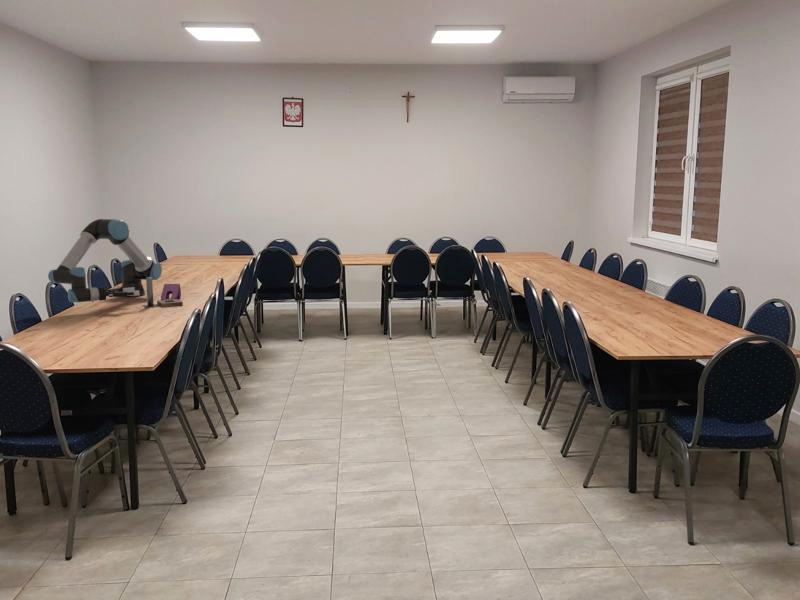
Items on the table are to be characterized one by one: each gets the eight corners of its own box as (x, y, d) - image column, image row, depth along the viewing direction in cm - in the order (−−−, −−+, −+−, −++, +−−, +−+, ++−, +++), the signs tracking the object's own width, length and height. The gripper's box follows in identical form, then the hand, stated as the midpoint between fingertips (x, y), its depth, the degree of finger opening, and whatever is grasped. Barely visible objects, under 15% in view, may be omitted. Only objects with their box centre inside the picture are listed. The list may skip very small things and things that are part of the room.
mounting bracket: (177, 311, 447) (181, 294, 461) (175, 300, 442) (179, 283, 457) (161, 311, 446) (166, 294, 460) (159, 300, 441) (164, 283, 455)
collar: (157, 304, 435) (157, 300, 435) (177, 303, 441) (177, 299, 441) (162, 307, 425) (161, 303, 425) (182, 306, 431) (182, 301, 431)
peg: (146, 305, 429) (145, 277, 426) (152, 305, 431) (151, 277, 428) (148, 306, 426) (146, 278, 423) (154, 306, 428) (152, 277, 425)
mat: (141, 306, 430) (141, 305, 430) (155, 304, 435) (155, 304, 435) (145, 308, 422) (145, 308, 422) (159, 307, 426) (159, 306, 426)
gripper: (94, 297, 423) (132, 294, 434) (102, 303, 402) (141, 300, 413) (93, 284, 422) (132, 282, 433) (101, 290, 401) (141, 287, 412)
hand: (136, 291), depth 423 cm, fingers open, 13 cm apart
